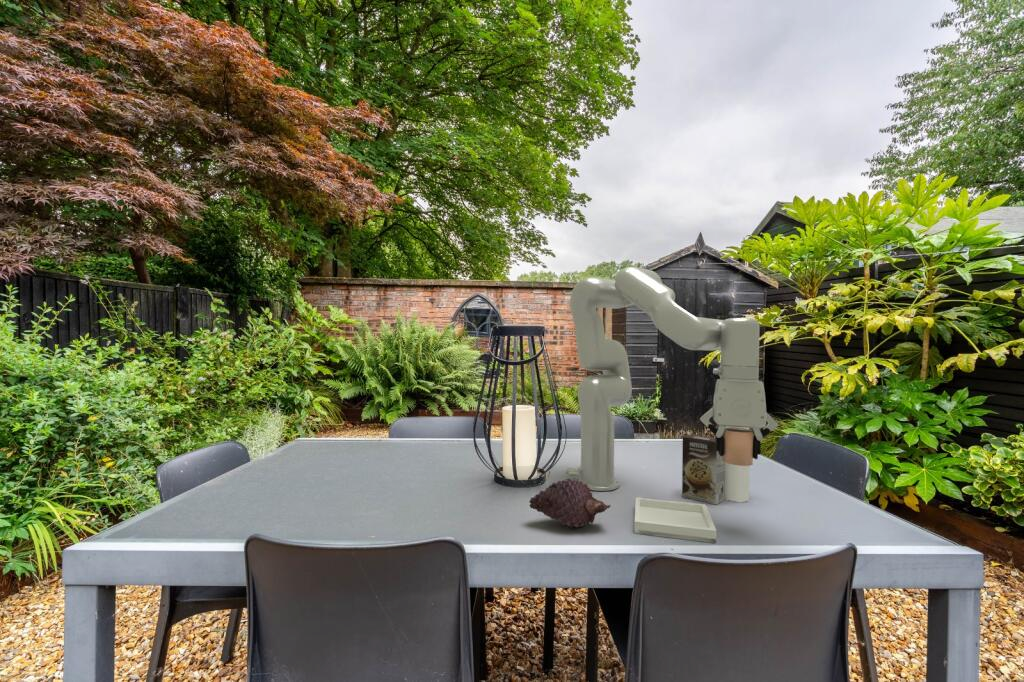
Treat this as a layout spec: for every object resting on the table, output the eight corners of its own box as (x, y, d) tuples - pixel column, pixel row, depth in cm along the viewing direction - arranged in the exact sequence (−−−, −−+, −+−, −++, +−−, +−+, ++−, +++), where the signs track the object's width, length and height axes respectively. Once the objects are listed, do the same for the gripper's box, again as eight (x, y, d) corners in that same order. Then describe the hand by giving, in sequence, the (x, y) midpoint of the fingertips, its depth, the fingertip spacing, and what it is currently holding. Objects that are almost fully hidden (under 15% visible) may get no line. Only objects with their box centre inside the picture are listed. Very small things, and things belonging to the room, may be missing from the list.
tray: (634, 533, 94) (634, 521, 94) (635, 507, 109) (635, 497, 109) (716, 543, 89) (716, 530, 89) (705, 515, 105) (705, 504, 105)
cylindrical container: (742, 494, 121) (742, 402, 121) (754, 502, 114) (754, 405, 114) (715, 492, 121) (715, 401, 122) (725, 501, 114) (725, 405, 115)
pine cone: (527, 532, 94) (528, 485, 94) (531, 515, 104) (531, 472, 104) (612, 536, 92) (612, 488, 92) (607, 518, 102) (607, 475, 102)
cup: (725, 464, 95) (726, 431, 95) (719, 456, 101) (720, 425, 101) (756, 466, 93) (757, 433, 93) (748, 459, 99) (749, 427, 99)
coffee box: (681, 496, 118) (681, 436, 118) (691, 491, 122) (691, 433, 123) (716, 505, 111) (716, 441, 112) (725, 499, 116) (725, 438, 116)
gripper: (698, 373, 96) (697, 456, 96) (789, 377, 91) (787, 464, 91) (695, 371, 103) (693, 448, 103) (778, 374, 98) (776, 455, 98)
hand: (737, 455), depth 97 cm, fingers closed on cup, 6 cm apart
